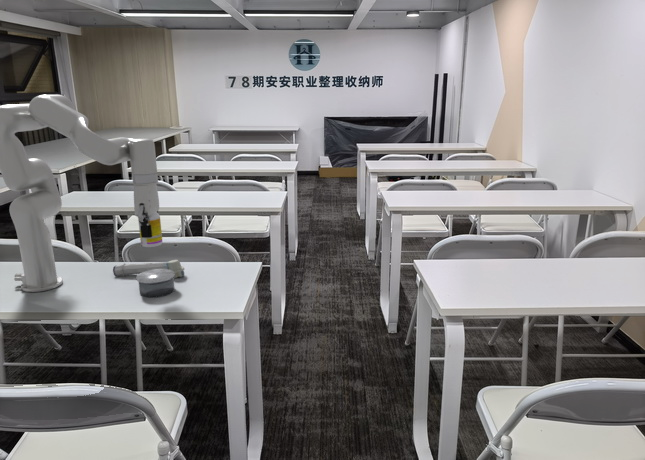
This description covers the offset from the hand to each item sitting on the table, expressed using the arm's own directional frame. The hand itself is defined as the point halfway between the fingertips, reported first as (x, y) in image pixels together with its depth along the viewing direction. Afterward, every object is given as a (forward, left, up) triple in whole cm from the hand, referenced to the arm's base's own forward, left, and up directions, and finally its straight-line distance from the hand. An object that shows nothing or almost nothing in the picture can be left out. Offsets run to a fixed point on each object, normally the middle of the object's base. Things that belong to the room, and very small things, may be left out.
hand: (150, 233), depth 164 cm
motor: (0, 0, -20) cm, 20 cm away
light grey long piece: (-7, +14, -20) cm, 26 cm away
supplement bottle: (0, 0, -4) cm, 4 cm away
